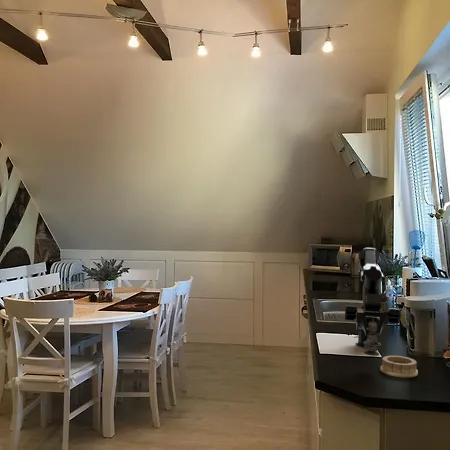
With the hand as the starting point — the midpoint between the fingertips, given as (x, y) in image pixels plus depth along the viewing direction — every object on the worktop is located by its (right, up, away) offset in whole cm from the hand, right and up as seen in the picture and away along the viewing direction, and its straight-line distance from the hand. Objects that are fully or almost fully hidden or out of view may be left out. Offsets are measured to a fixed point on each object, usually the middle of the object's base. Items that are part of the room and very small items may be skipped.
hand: (372, 335), depth 172 cm
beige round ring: (+9, -13, 0) cm, 15 cm away
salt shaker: (0, -7, +2) cm, 7 cm away
